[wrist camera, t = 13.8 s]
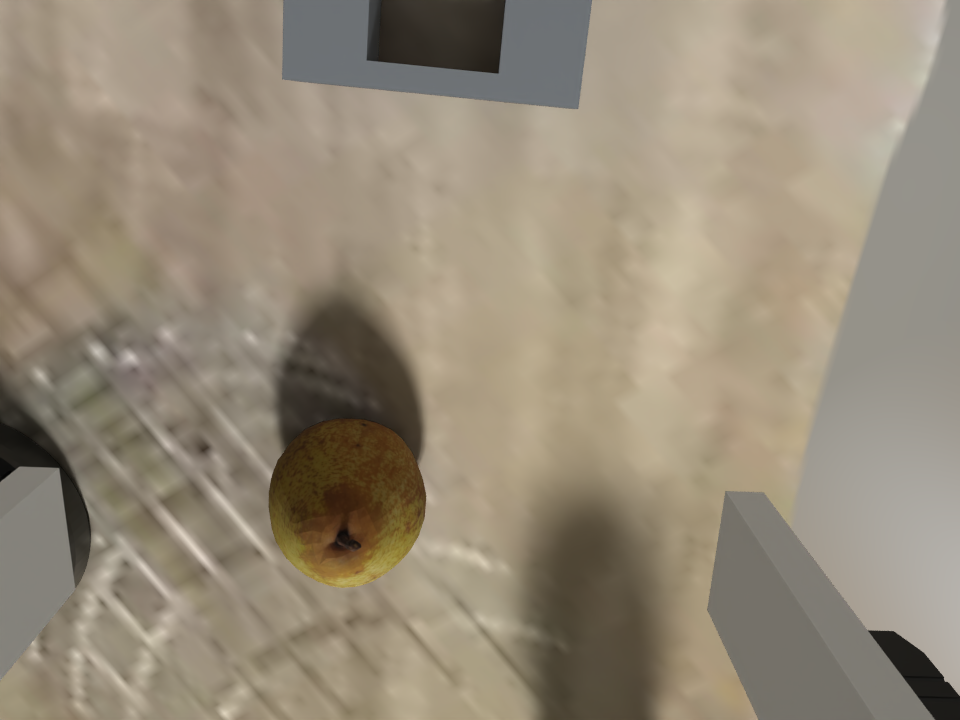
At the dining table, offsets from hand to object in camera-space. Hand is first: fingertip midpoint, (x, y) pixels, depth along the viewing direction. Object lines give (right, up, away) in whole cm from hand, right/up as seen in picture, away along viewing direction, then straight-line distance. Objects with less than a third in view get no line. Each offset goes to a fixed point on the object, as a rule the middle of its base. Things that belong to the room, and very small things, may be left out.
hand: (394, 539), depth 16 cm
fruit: (-6, -3, +32) cm, 33 cm away
